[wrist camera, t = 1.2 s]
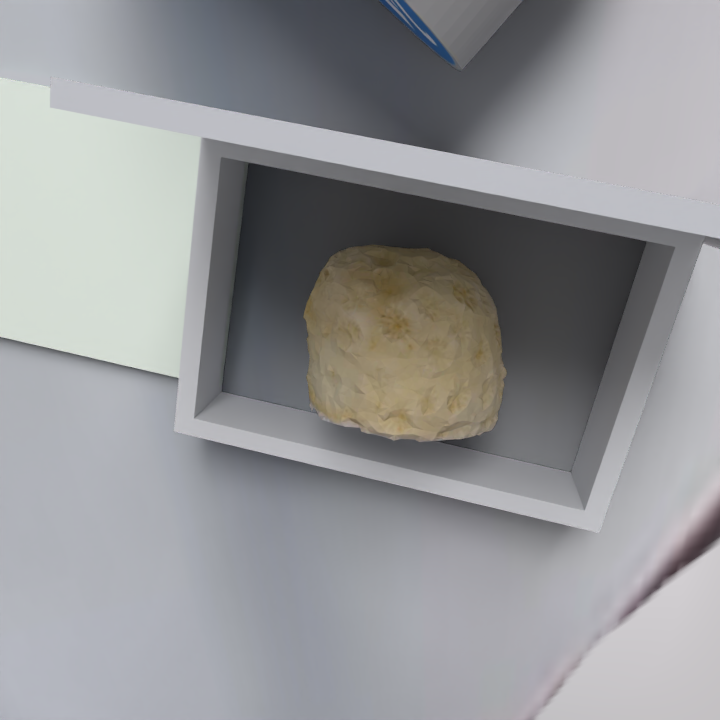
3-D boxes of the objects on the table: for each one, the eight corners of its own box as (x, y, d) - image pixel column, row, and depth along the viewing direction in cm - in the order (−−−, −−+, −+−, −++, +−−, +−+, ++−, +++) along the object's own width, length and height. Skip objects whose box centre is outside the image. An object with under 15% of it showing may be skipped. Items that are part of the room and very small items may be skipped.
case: (203, 403, 37) (41, 557, 22) (234, 114, 31) (50, 76, 17) (598, 495, 35) (694, 727, 20) (700, 203, 29) (923, 243, 15)
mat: (-5, 331, 37) (-12, 334, 37) (-7, 76, 33) (-15, 74, 32) (222, 383, 36) (218, 387, 35) (252, 126, 31) (249, 125, 31)
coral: (269, 479, 30) (261, 310, 23) (335, 345, 37) (344, 187, 30) (469, 536, 28) (525, 374, 21) (497, 384, 35) (545, 228, 29)
